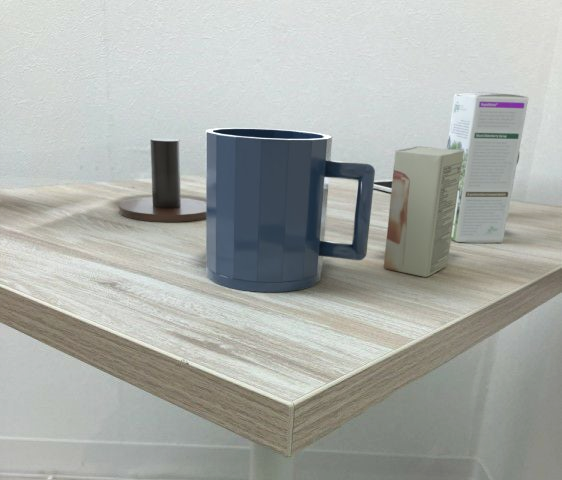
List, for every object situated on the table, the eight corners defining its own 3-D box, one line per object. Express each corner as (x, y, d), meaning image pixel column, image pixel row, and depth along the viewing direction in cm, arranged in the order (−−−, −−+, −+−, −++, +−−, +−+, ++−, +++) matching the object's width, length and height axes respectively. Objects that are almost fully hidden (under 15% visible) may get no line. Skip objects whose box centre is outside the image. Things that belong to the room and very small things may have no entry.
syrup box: (504, 243, 69) (533, 95, 62) (452, 242, 68) (476, 92, 62) (481, 231, 74) (505, 93, 68) (432, 230, 73) (452, 90, 67)
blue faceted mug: (188, 283, 50) (186, 132, 46) (229, 255, 58) (231, 126, 54) (352, 305, 47) (368, 146, 43) (371, 272, 55) (386, 137, 51)
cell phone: (395, 182, 105) (395, 178, 105) (467, 199, 93) (468, 195, 93) (357, 184, 101) (357, 180, 101) (427, 202, 89) (428, 197, 89)
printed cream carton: (404, 258, 61) (419, 145, 56) (448, 267, 58) (467, 150, 54) (379, 268, 57) (393, 148, 53) (425, 278, 55) (443, 154, 50)
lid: (101, 216, 71) (96, 139, 68) (145, 201, 81) (143, 133, 78) (191, 226, 69) (190, 147, 66) (226, 209, 78) (227, 139, 75)
